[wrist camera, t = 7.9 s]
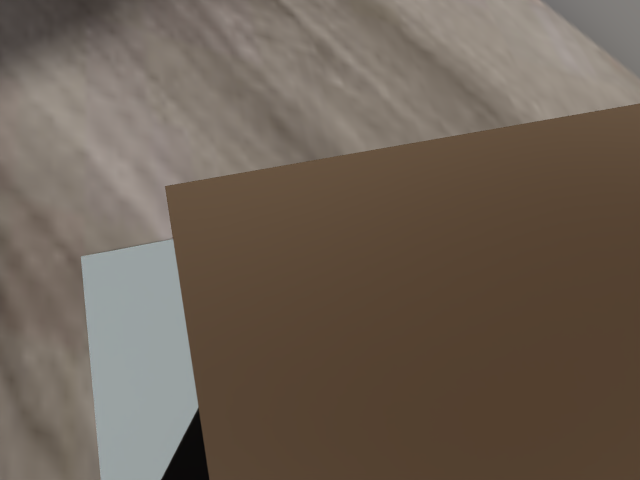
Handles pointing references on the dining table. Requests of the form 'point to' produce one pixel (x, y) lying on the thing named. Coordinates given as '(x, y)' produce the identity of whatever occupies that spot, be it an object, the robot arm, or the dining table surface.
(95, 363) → the mat
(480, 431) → the walnut block
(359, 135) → the dining table surface
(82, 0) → the dining table surface
